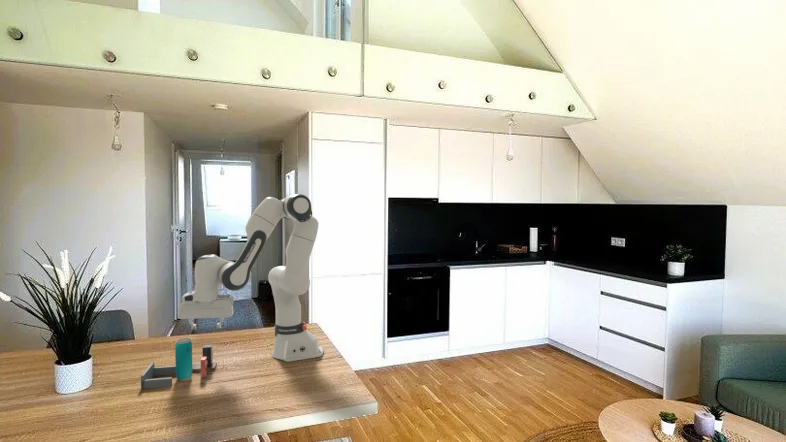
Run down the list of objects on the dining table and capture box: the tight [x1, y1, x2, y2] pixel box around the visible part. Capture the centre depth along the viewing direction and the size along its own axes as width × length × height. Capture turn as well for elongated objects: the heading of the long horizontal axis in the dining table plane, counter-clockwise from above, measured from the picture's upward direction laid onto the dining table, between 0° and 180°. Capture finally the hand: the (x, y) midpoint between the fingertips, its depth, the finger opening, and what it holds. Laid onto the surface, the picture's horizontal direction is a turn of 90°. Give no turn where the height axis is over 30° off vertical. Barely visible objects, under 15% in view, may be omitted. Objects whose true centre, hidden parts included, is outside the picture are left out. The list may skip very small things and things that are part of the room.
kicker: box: [200, 344, 214, 378], centre depth 164 cm, size 3×11×9 cm, turn 14°
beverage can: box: [174, 337, 193, 382], centre depth 158 cm, size 6×6×15 cm
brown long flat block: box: [192, 361, 218, 373], centre depth 167 cm, size 16×5×1 cm, turn 104°
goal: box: [140, 362, 176, 390], centre depth 156 cm, size 10×12×5 cm
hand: (206, 328), depth 167 cm, fingers open, 8 cm apart
